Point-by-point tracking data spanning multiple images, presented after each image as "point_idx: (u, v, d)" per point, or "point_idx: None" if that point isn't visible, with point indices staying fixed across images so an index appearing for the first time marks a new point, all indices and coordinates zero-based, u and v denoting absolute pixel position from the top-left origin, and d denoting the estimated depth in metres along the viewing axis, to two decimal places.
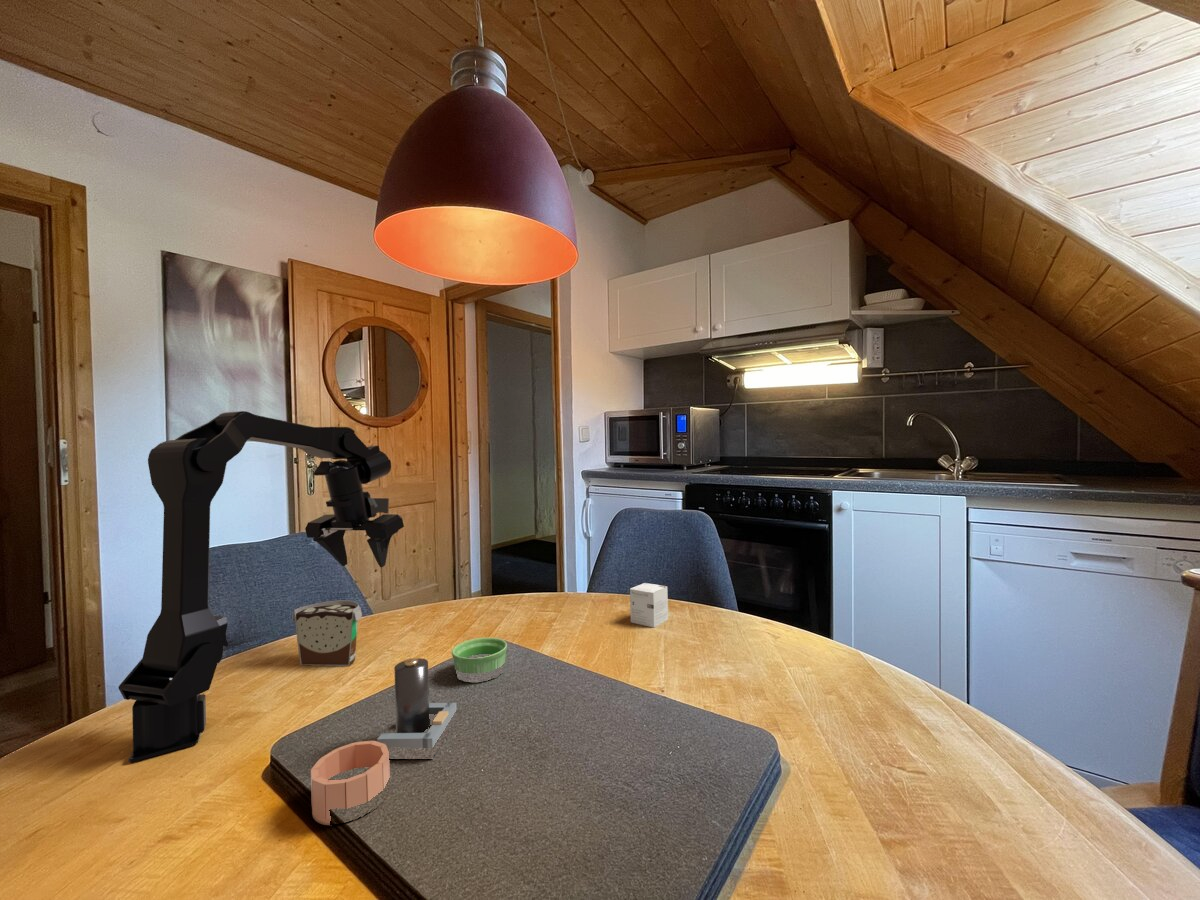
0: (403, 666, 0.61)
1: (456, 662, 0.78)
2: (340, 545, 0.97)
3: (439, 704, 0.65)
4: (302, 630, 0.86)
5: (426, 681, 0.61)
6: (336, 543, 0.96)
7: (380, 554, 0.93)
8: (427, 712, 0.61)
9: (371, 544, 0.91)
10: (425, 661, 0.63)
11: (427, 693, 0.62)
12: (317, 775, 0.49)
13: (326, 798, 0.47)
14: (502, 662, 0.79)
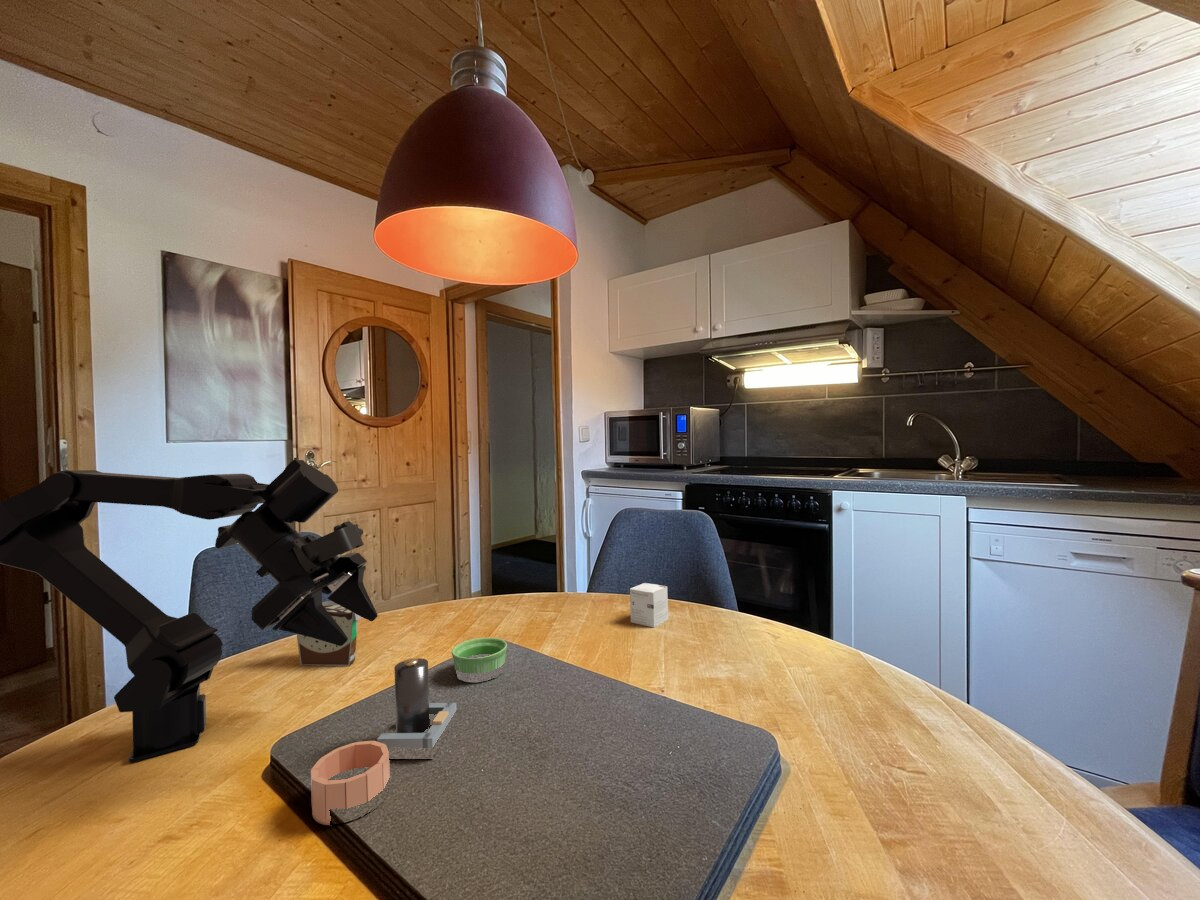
0: (403, 666, 0.61)
1: (456, 662, 0.78)
2: (356, 596, 0.69)
3: (439, 704, 0.65)
4: None
5: (426, 681, 0.61)
6: (349, 596, 0.69)
7: (316, 634, 0.59)
8: (427, 712, 0.61)
9: None
10: (425, 661, 0.63)
11: (427, 693, 0.62)
12: (317, 775, 0.49)
13: (326, 798, 0.47)
14: (502, 662, 0.79)
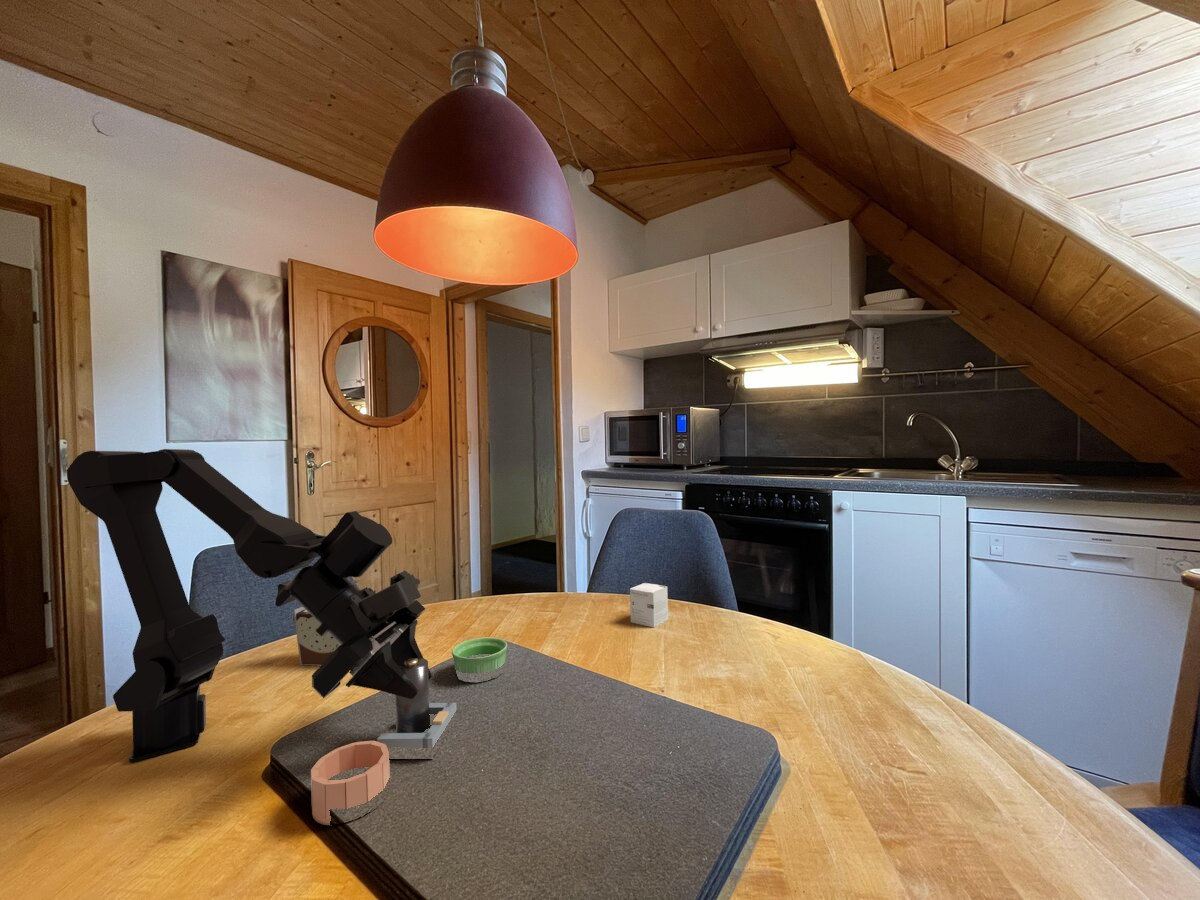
0: (403, 666, 0.61)
1: (456, 662, 0.78)
2: (409, 655, 0.64)
3: (439, 704, 0.65)
4: (302, 630, 0.86)
5: (426, 681, 0.61)
6: (401, 655, 0.64)
7: (387, 688, 0.58)
8: (427, 712, 0.61)
9: None
10: (425, 661, 0.63)
11: (427, 693, 0.62)
12: (317, 775, 0.49)
13: (326, 798, 0.47)
14: (502, 662, 0.79)
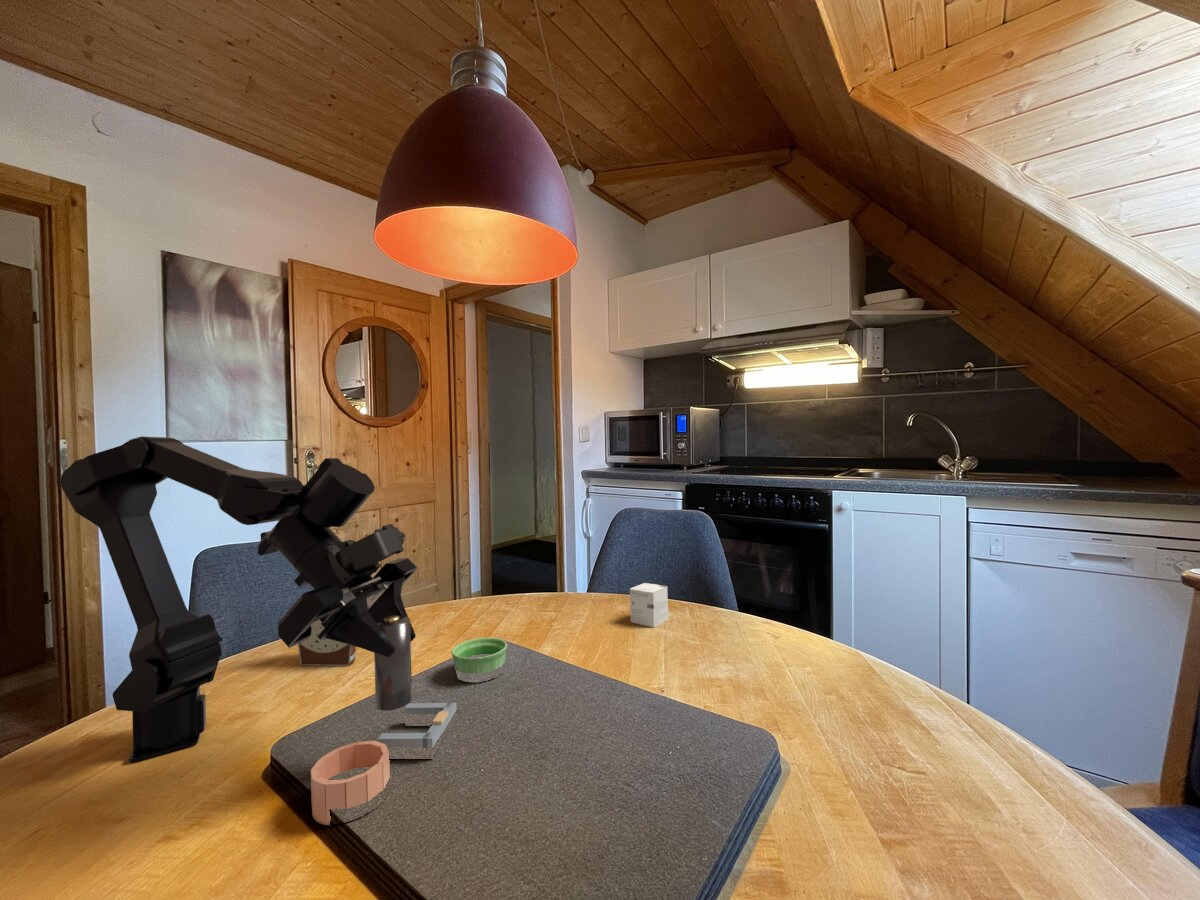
0: (383, 622, 0.57)
1: (456, 662, 0.78)
2: (392, 612, 0.60)
3: (439, 704, 0.65)
4: None
5: (407, 640, 0.57)
6: (385, 612, 0.60)
7: (363, 643, 0.54)
8: (408, 673, 0.57)
9: None
10: (407, 619, 0.58)
11: (408, 653, 0.57)
12: (317, 775, 0.49)
13: (326, 798, 0.47)
14: (502, 662, 0.79)
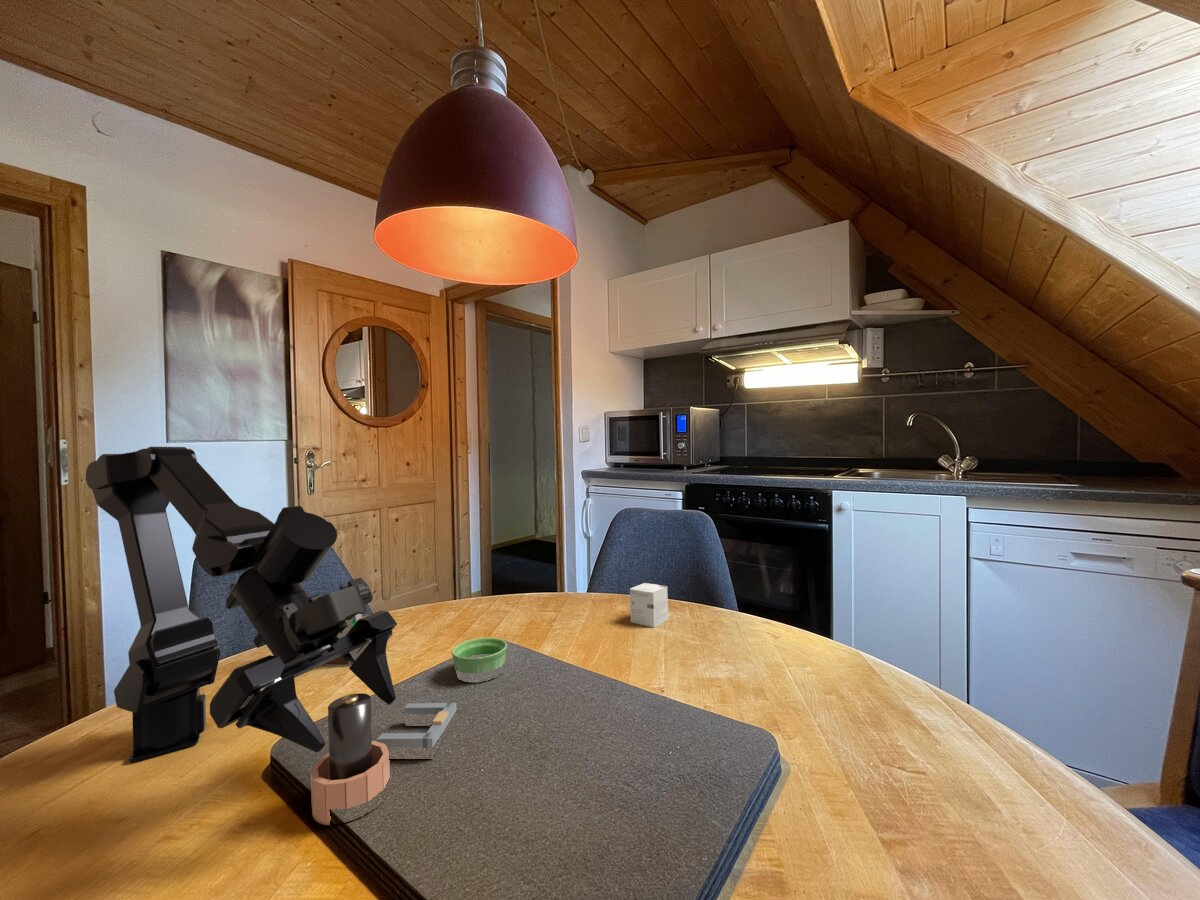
0: (340, 703, 0.51)
1: (456, 662, 0.78)
2: (374, 670, 0.56)
3: (439, 704, 0.65)
4: None
5: (363, 725, 0.50)
6: (367, 669, 0.56)
7: (288, 734, 0.46)
8: (364, 763, 0.50)
9: None
10: (367, 699, 0.51)
11: (365, 740, 0.50)
12: (317, 775, 0.49)
13: (326, 798, 0.47)
14: (502, 662, 0.79)
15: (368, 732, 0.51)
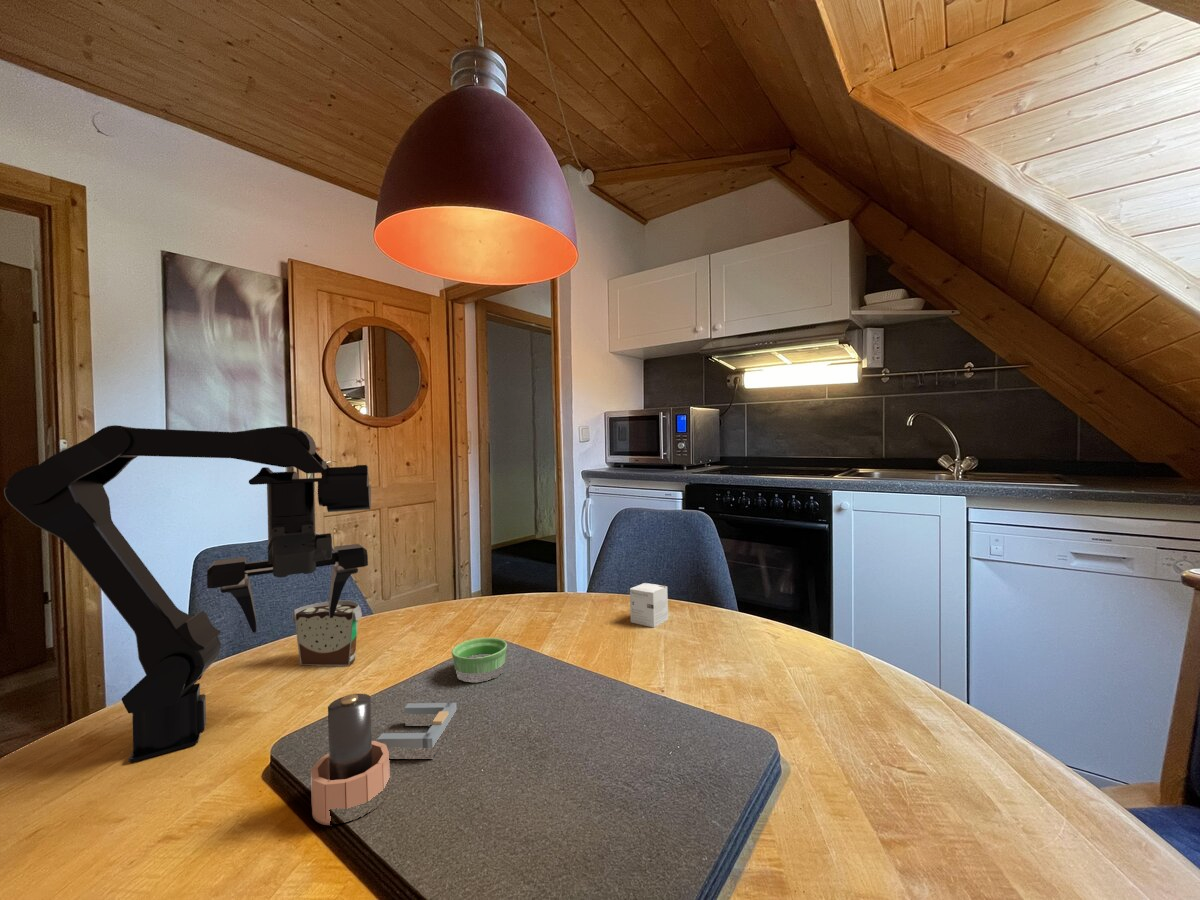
0: (339, 703, 0.51)
1: (456, 662, 0.78)
2: (332, 589, 0.71)
3: (439, 704, 0.65)
4: (302, 630, 0.86)
5: (363, 726, 0.50)
6: (332, 582, 0.72)
7: None
8: (364, 764, 0.50)
9: None
10: (367, 700, 0.51)
11: (365, 740, 0.50)
12: (317, 775, 0.49)
13: (326, 798, 0.47)
14: (502, 662, 0.79)
15: (368, 732, 0.51)
